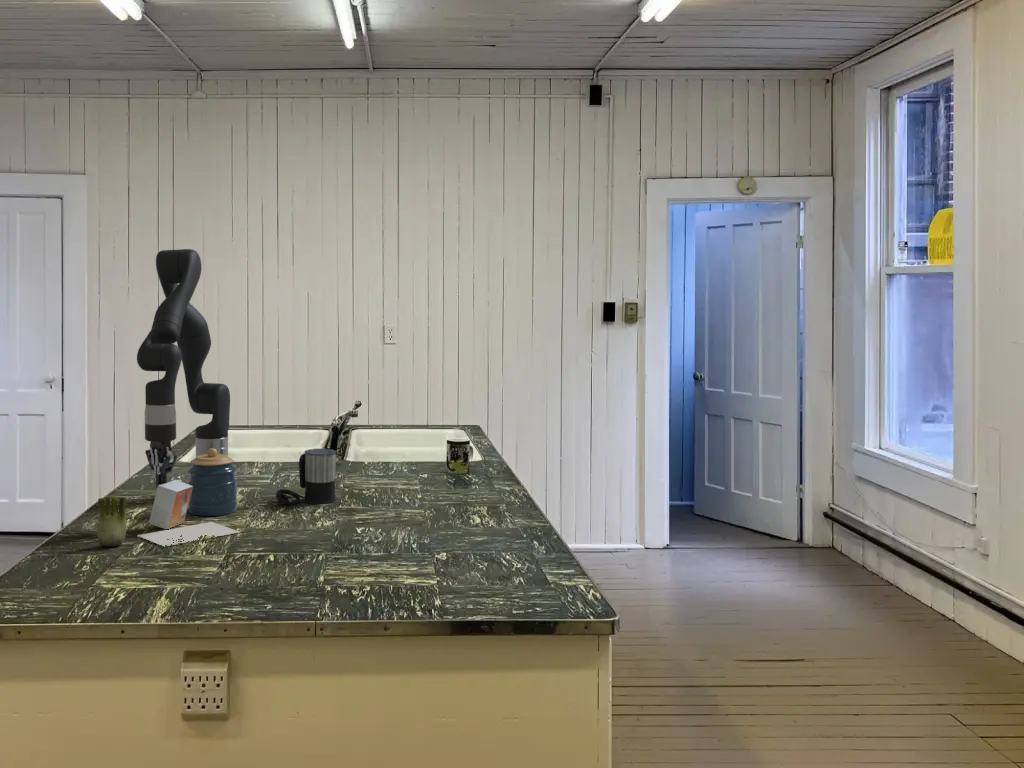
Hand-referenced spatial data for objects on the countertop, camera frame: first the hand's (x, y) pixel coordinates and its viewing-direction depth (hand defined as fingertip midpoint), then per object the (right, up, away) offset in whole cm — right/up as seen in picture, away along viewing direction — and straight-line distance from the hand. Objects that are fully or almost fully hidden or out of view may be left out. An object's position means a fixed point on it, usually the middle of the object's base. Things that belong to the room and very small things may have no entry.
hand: (161, 488), depth 238 cm
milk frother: (+31, -8, +31) cm, 44 cm away
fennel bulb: (-4, -12, -19) cm, 23 cm away
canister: (+8, -9, +17) cm, 21 cm away
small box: (+1, -9, 0) cm, 9 cm away
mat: (+10, -11, -8) cm, 17 cm away
